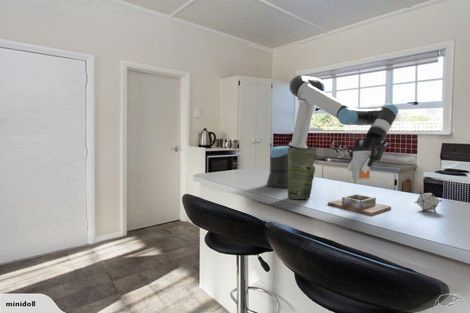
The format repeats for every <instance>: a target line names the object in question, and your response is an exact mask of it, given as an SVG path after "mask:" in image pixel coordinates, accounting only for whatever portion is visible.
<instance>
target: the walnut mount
mask: <svg viewBox="0 0 470 313" xmlns="http://www.w3.org/2000/svg"><path fill="white" fill-rule="evenodd" d="M376 199H377V198H376V197H374V196H368V195H363V194H358V193H356V194H355V193H354V194H352V195H346V196H342V198H340V199H337V200H331V201H327V205H328V206H331V207H334V208H339V209H342V210H343V209H344V210H346V211H352V212H355V213H359V214H363V215H367V216H374V215H378V214H381V213H384V212H387V211H390V210H392V206H391V205H386V204H382V203H377V202H376V201H377V200H376Z"/></svg>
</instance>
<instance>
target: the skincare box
mask: <svg viewBox="0 0 470 313" xmlns="http://www.w3.org/2000/svg"><path fill="white" fill-rule="evenodd" d="M370 156H371V151H368V150H365V151H353V163H352V171H351V178H352V179H354V180H370V179H371V178H370V175H371V167H369V169H368V170H367V172H366V174H364V173H363V171H362V168H363V166H364V164H365V162H366V161H367V159H368V158H370Z"/></svg>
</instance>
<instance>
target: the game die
mask: <svg viewBox="0 0 470 313" xmlns="http://www.w3.org/2000/svg"><path fill="white" fill-rule="evenodd" d="M419 193H420V194H419V196H418V197H417V199H416V201H413V203H414V204H417V206H419V207H420V208H421V209H422V210H423V211H422V212H423V213H425V211H434V213H436V212H437V211H436V208H437V207H438V205H439V203H442V201H443V200H440V199H439V198H437V197H436V196H435V195H434V193H433V191H430V192H422V191H419Z"/></svg>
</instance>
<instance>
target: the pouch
mask: <svg viewBox="0 0 470 313" xmlns="http://www.w3.org/2000/svg"><path fill="white" fill-rule="evenodd" d="M317 150H318V149H317V148H315V147H313V148H310V149H309V148H307V149H306V150H303V147H302V148H301V149H297V148H289V149H288V153H287V155H288V164H289V170H288V188H287V198H289V199H293V200H305V199H306V200H309V199H310V198H311V193H312V188H313V180H314V178H315V176H314V175H315V172H316V167H315V166H314V162H315V160H314V157H315V154H316V152H317Z"/></svg>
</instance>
